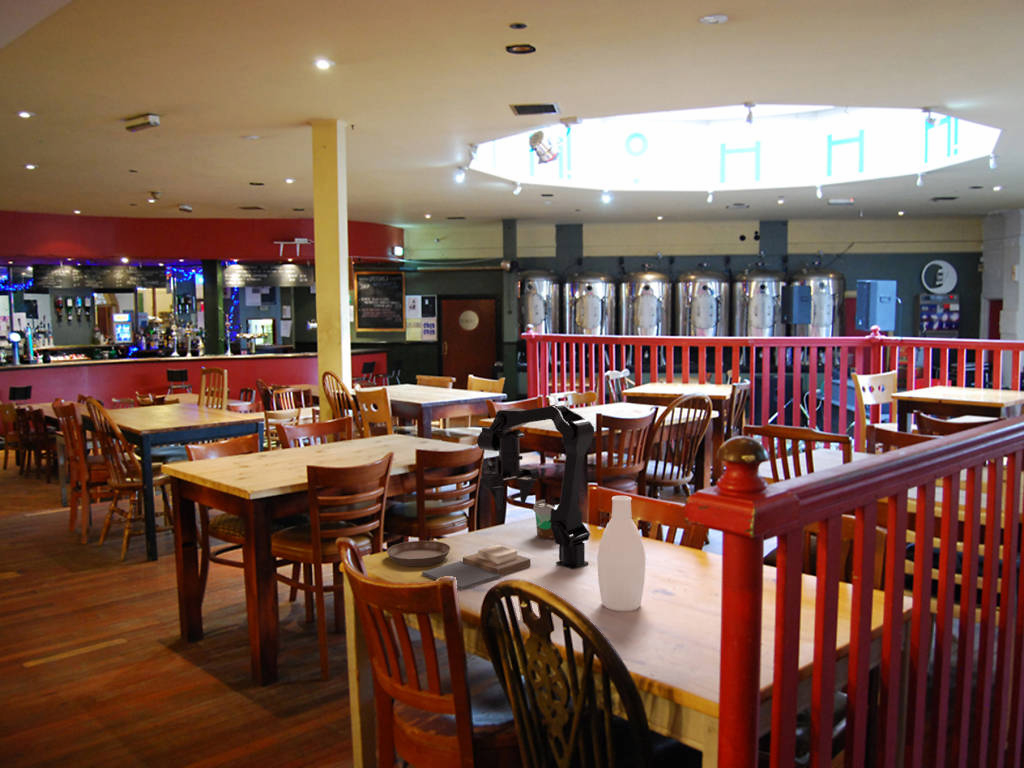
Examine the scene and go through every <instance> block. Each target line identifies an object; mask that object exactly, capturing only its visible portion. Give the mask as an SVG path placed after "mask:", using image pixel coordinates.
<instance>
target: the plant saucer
mask: <svg viewBox="0 0 1024 768" xmlns="http://www.w3.org/2000/svg"><path fill="white" fill-rule="evenodd" d="M451 549H452V548H451V546H450V544H447V543H446V542H445V543H444V542H441V541H435V540H434V541H433V540H414V541H413V540H412V541H406V542H401V543H398V544H393V545H392V546H390V547H389V548H387V550H386V554H387V555H388V557H389V558H390V559H391V560H392V561H393V562H394V563H395V564H397V565H401V566H404V567H423V566H424V567H425V566H431V565H436V564H438V563H440V562H442V561H444V560H445V559H446V557H447V556H448V554H449V553H450V550H451Z"/></svg>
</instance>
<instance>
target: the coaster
mask: <svg viewBox="0 0 1024 768" xmlns="http://www.w3.org/2000/svg"><path fill="white" fill-rule="evenodd" d="M477 552H478V557H479V558H482V559H485V560H488V561H491V562H494V563H497V564H500V563H503V562H506V561H510V560H513V559H516V558H517V555H518V550H515V549H513V548H509V547H506V546H503V545H498V544H495V545H492V546H489V547H485V548H481V549H478V551H477Z"/></svg>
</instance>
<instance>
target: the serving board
mask: <svg viewBox="0 0 1024 768" xmlns="http://www.w3.org/2000/svg"><path fill="white" fill-rule="evenodd" d="M462 562H465V563H468V564H471V565H474V566H477V567H480V568H483V569H485V570H488V571H491V572H494V573H497V574H500V577H501V576H504V575H507V574H510V573H513V572H517V571H521V570H523V569H526V568H529V566H530V567H531V558H530V557H529V558H528V557H525V556H522V555H518V554H517V558H516V559H513V560H510V561H506V562H503V563H500V564H497V563H494V562H491V561H488V560H485V559H482V558H479V557H478V553H473V554H470V555H466V556H463V557H462Z"/></svg>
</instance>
